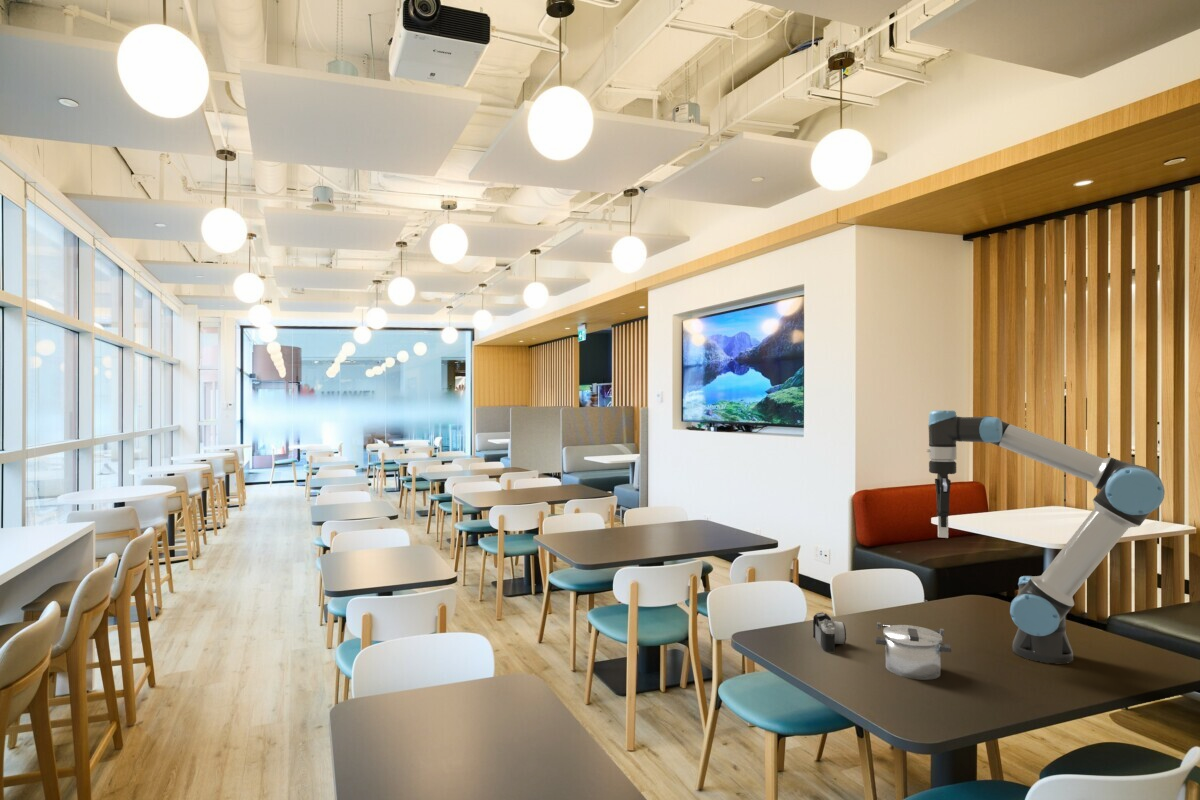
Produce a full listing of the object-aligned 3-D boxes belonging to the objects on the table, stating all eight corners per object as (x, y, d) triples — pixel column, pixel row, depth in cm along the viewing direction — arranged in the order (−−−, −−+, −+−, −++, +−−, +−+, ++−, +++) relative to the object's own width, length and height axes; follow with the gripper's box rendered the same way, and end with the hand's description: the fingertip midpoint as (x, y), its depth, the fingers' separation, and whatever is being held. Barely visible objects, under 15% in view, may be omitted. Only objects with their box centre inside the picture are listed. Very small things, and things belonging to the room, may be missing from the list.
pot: (954, 685, 179) (953, 647, 179) (877, 676, 185) (876, 638, 185) (946, 664, 193) (945, 629, 193) (875, 656, 200) (874, 621, 200)
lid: (946, 651, 179) (945, 641, 179) (884, 644, 184) (884, 634, 184) (938, 632, 194) (938, 623, 194) (881, 627, 199) (881, 617, 199)
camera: (851, 655, 201) (850, 622, 201) (820, 654, 202) (820, 621, 202) (838, 637, 216) (838, 606, 216) (809, 636, 217) (809, 606, 217)
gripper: (926, 458, 214) (927, 532, 213) (931, 461, 201) (931, 540, 201) (953, 459, 211) (953, 534, 211) (959, 462, 199) (960, 542, 198)
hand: (943, 537), depth 206 cm, fingers closed
